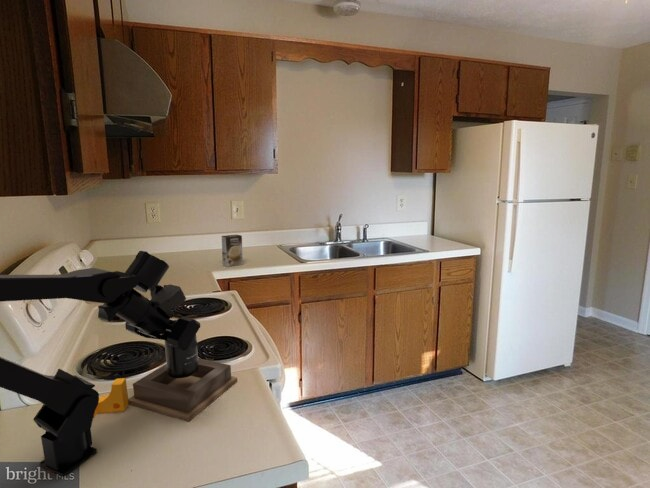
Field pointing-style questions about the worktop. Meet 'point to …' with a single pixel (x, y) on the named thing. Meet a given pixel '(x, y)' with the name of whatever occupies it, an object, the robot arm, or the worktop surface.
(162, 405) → the grey-brown square frame
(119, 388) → the orange notched part
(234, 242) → the coffee box
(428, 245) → the worktop surface
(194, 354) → the supplement bottle
